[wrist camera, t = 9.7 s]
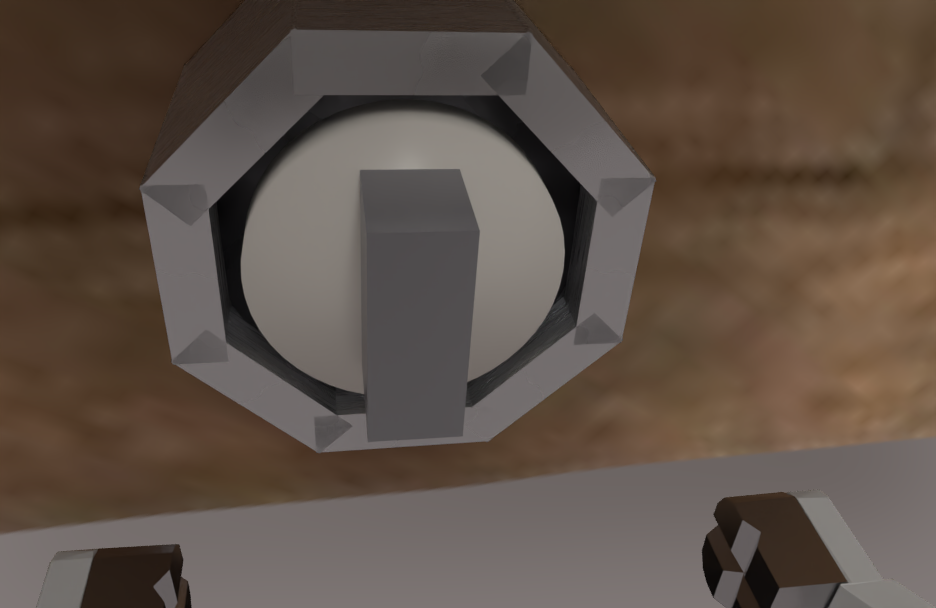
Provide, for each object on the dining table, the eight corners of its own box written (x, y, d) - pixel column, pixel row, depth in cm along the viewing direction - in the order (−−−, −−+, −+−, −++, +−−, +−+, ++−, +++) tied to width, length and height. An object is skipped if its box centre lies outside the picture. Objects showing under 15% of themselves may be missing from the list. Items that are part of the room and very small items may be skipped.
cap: (229, 97, 16) (210, 182, 13) (571, 100, 17) (624, 178, 14) (257, 371, 20) (247, 483, 17) (534, 358, 21) (570, 462, 18)
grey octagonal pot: (166, -62, 20) (108, 24, 14) (587, -49, 21) (687, 33, 16) (215, 299, 26) (188, 462, 20) (542, 287, 27) (603, 434, 22)
